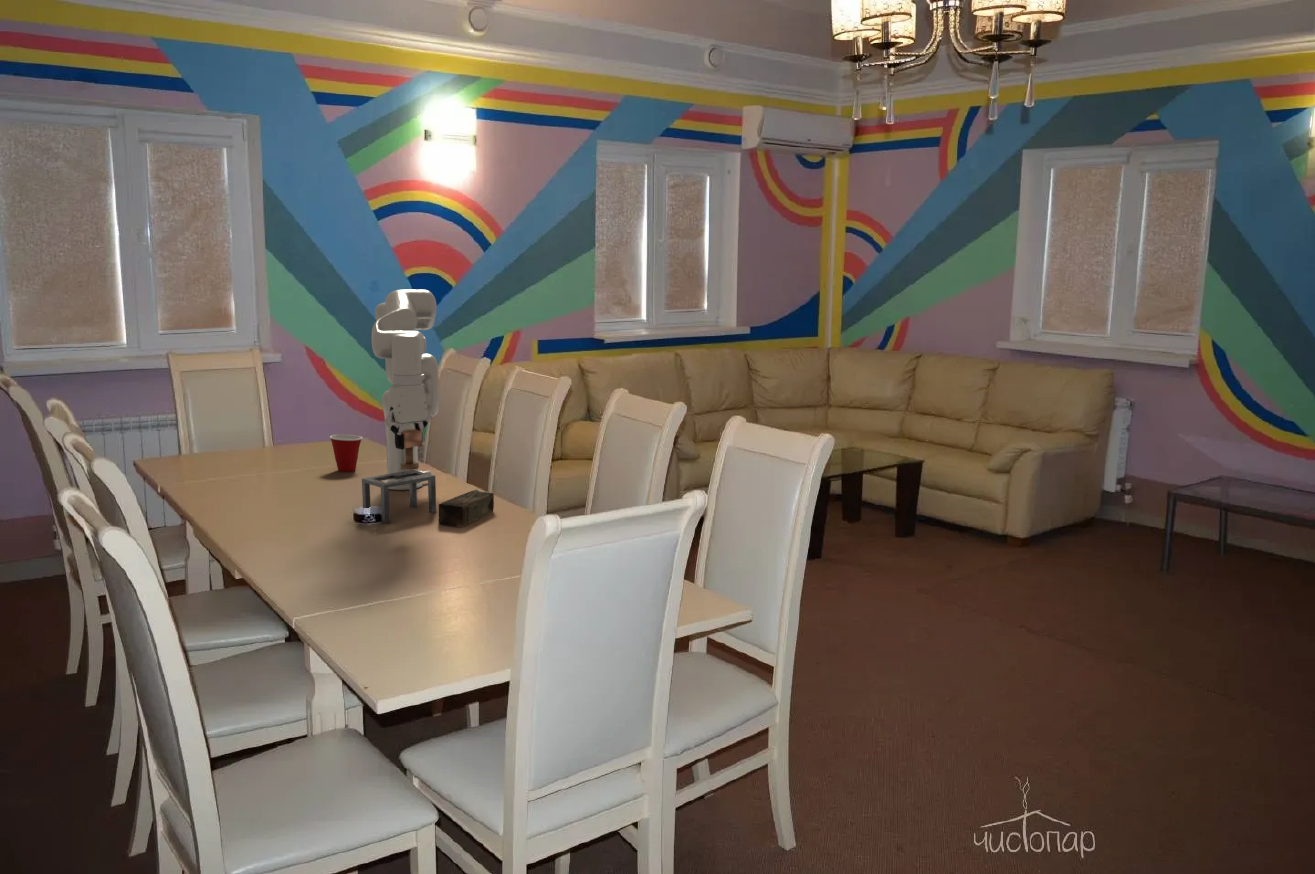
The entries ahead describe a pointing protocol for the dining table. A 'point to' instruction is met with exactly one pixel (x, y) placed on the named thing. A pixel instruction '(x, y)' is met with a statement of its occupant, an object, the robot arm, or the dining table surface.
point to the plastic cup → (346, 451)
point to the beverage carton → (465, 508)
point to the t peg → (411, 447)
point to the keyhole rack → (407, 478)
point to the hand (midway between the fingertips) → (409, 446)
